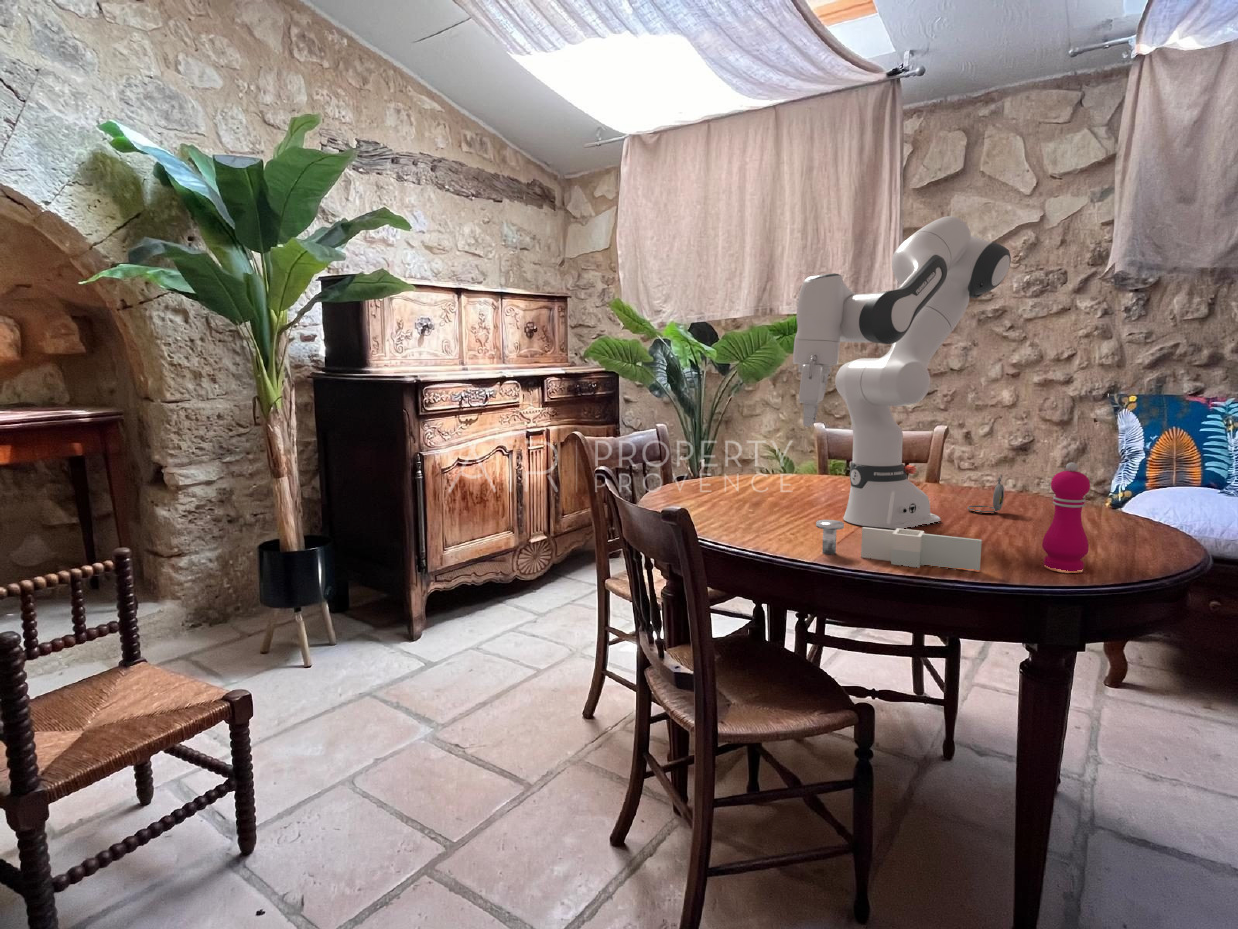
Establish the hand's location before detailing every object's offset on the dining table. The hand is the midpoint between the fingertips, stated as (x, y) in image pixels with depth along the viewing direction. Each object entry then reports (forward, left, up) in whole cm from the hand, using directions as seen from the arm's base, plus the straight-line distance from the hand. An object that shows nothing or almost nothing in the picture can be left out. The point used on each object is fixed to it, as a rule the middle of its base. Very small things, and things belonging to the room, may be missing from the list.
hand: (809, 424), depth 142 cm
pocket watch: (-60, -13, -26) cm, 67 cm away
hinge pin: (-2, +5, -26) cm, 26 cm away
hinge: (-14, +17, -26) cm, 34 cm away
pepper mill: (-36, +29, -26) cm, 53 cm away
